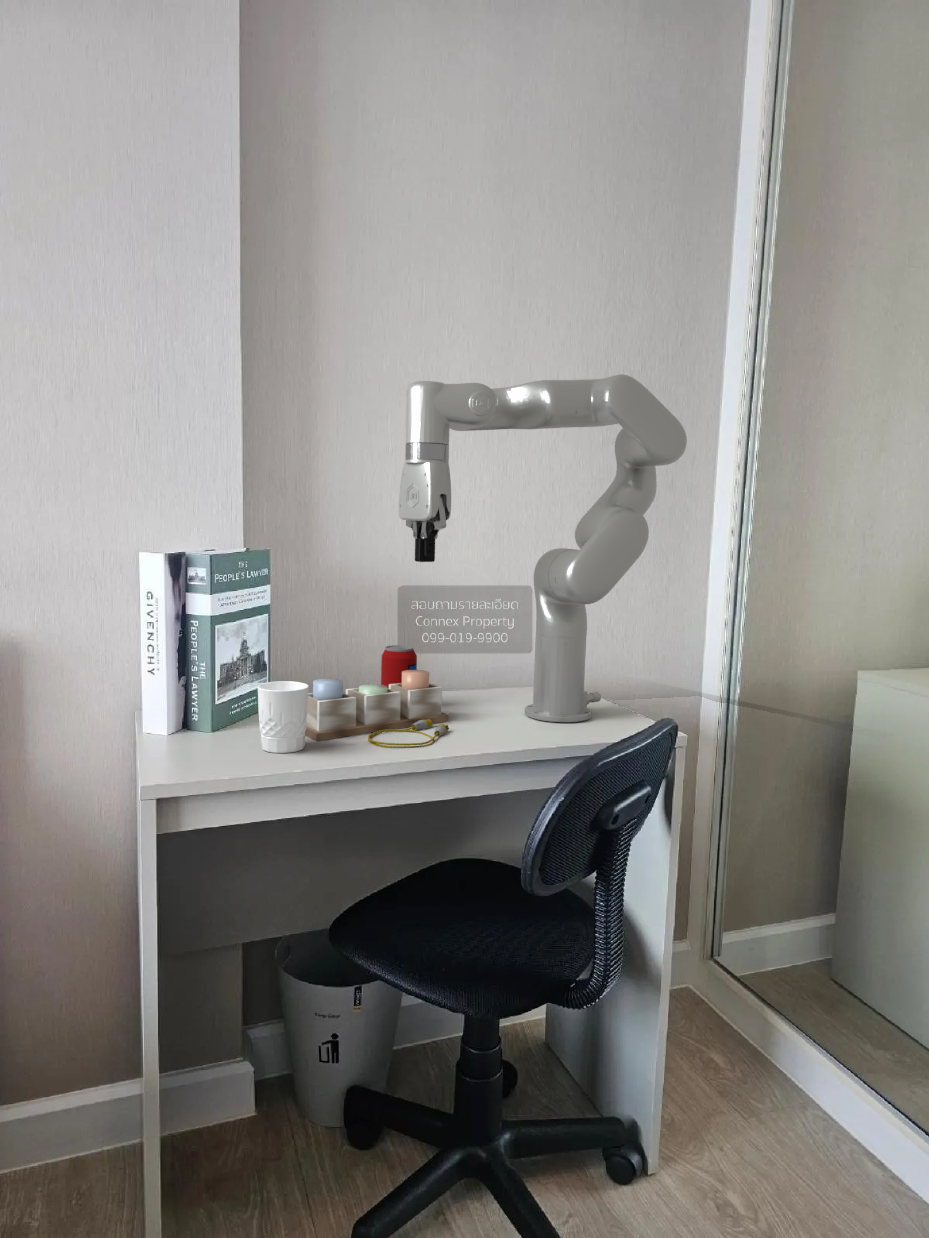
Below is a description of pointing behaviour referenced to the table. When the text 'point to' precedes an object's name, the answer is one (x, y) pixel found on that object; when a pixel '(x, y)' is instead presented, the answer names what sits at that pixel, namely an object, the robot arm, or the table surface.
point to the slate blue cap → (327, 689)
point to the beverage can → (396, 663)
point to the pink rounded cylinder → (415, 679)
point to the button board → (372, 711)
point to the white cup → (282, 715)
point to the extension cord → (418, 725)
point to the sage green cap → (372, 689)
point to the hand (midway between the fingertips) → (424, 561)
